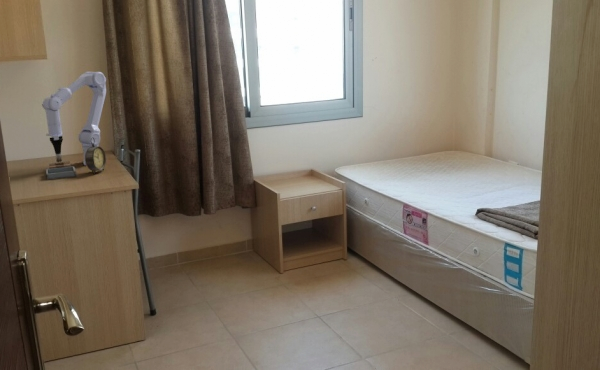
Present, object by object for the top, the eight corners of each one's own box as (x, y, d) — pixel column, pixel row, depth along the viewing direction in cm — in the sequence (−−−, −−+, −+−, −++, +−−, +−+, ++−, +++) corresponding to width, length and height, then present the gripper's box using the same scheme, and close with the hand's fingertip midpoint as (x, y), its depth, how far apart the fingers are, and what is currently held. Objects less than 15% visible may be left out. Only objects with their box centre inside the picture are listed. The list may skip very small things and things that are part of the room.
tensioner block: (49, 169, 295) (48, 163, 295) (70, 167, 299) (69, 161, 298) (50, 173, 287) (49, 167, 287) (71, 171, 291) (70, 164, 290)
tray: (46, 174, 285) (46, 169, 285) (74, 171, 290) (74, 166, 289) (47, 179, 276) (46, 174, 275) (76, 176, 280) (75, 171, 279)
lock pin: (55, 161, 293) (52, 142, 291) (62, 160, 294) (60, 141, 292) (55, 162, 290) (52, 143, 288) (63, 161, 291) (60, 142, 289)
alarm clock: (95, 175, 281) (91, 139, 277) (84, 175, 282) (80, 139, 278) (107, 169, 291) (103, 135, 287) (97, 169, 292) (93, 135, 288)
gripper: (44, 122, 293) (48, 151, 296) (45, 126, 280) (49, 156, 283) (60, 121, 295) (64, 149, 299) (61, 125, 282) (65, 155, 286)
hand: (58, 153), depth 291 cm, fingers closed on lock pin, 3 cm apart
